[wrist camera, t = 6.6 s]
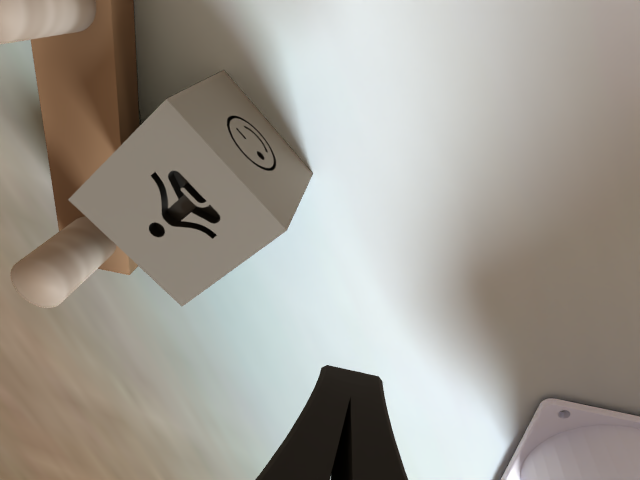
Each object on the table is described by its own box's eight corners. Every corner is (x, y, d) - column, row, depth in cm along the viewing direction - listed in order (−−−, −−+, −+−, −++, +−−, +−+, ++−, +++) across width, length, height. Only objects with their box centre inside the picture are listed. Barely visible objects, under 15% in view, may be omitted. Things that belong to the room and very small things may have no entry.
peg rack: (131, -46, 16) (30, -55, 12) (146, 257, 22) (82, 326, 18) (46, -59, 16) (-84, -74, 12) (83, 244, 22) (5, 309, 18)
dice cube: (313, 172, 19) (286, 230, 15) (227, 238, 21) (182, 306, 17) (224, 69, 18) (165, 98, 13) (142, 151, 20) (68, 199, 15)
